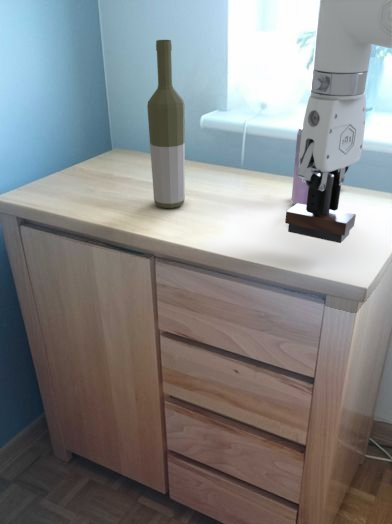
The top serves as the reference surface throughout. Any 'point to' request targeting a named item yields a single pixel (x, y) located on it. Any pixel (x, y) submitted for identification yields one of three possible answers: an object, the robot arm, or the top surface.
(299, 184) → the beverage can
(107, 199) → the top surface
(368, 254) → the top surface
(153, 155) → the bottle
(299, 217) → the scrub brush
